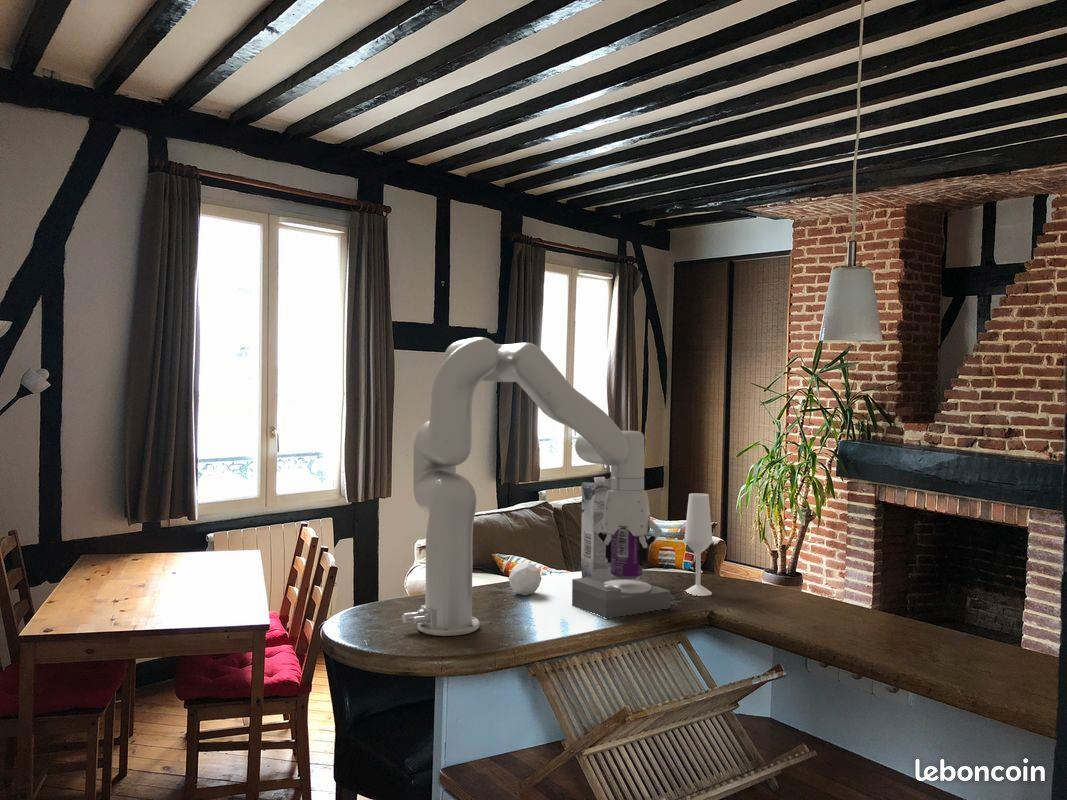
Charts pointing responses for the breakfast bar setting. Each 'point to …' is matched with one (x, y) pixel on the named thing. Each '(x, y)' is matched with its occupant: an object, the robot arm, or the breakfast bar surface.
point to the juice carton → (591, 544)
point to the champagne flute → (698, 534)
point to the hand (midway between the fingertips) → (626, 562)
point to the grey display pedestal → (618, 597)
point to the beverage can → (625, 554)
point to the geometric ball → (525, 578)
